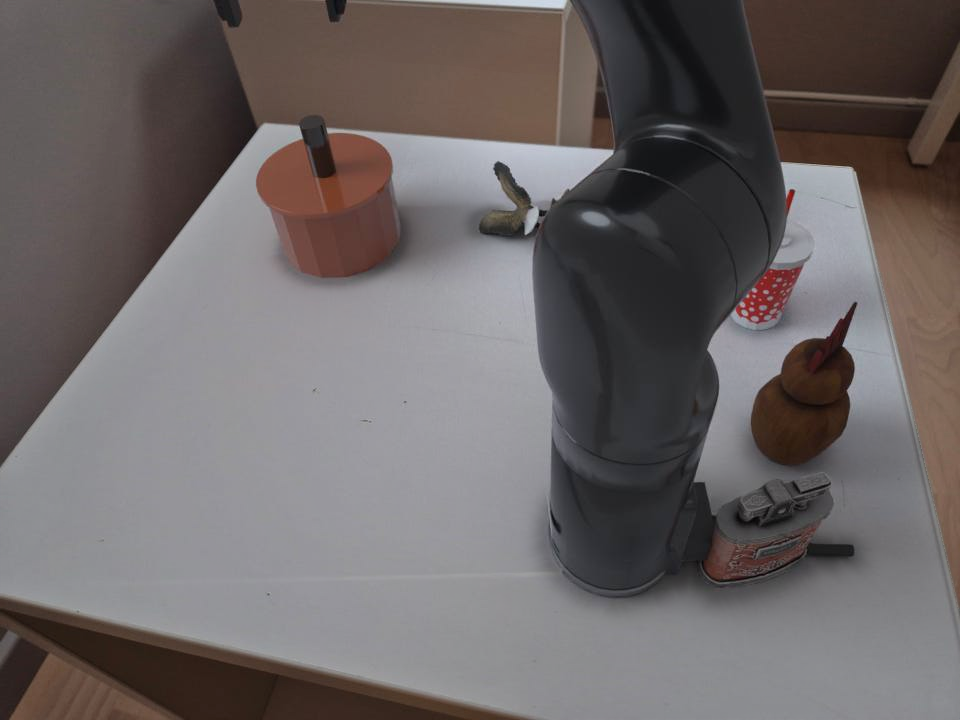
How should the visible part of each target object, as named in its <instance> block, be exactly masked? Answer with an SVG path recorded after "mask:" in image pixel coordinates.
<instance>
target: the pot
mask: <svg viewBox="0 0 960 720" xmlns="http://www.w3.org/2000/svg"><path fill="white" fill-rule="evenodd" d="M268 208H269V207H268ZM269 212H270V215H271V217H272V218H271V219H272V221H273V224H274V227H275V229H276V232H277V235H278V238H279V241H280V244H281V248H282V250H283V252H284V256H285V258H286V261H287V263H289V264H290V265H291V266H292V267H294V268H295V269H297V270H298V271H299V272H300V273H302V274H306V275H309V276H313V277H317V278H322V279H323V278H324V279H327V278H346V277H347V278H348V277H351V276H353V275H354V276H355V275H357V274H360V273H363V272H367V271H370V270H371V269H373V268H374V267H376V266H378V265H379V264H381V263H382V262H384V261H385V260H387V259H388V258H389V257H390V256H391V254H392V253H393V251H394V250H395V249H396V247H397V246H398V245H399V243H400V239H401V230H402V226H401V221H400V216H399V210H398V204H397V198H396V192H395V187H394V183H393V177H392V178H391V180H390V182H389V184H388V186H387V187H386V189H385V190H384V191H383V192H382V193H381V194H380V195H379V196H378V197H376V198H375V199H374V200H372V201H371V202H369V203H368V204H366V205H364V206H362V207H361V208H358V209H356V210H354V211H351V212H348V213H345V214H342V215H338V216H334V217H328V218H320V219H302V218H294V217H289V216H285V215H282V214H280V213H277V212H275V211H273V210H272V209H270V208H269Z"/></svg>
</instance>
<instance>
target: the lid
mask: <svg viewBox="0 0 960 720" xmlns="http://www.w3.org/2000/svg"><path fill="white" fill-rule="evenodd" d="M298 126H299V130H300V134H301V139H298V140H295V141H293V142H290V143H288V144H287V145H284V146H282V147H281V148H280V149H277V150H276V151H275V152H274V153H272V154H271V155H270V156H269V157H268V158H266V160H265V161H264V162H263V163H262V164H261V166H260V167H259V170H258V172H257V173H256V178H255V187H256V191H257V195H258V196H259V199H260V201H262V203H263V204H264V205H265V206H266V207H267V208H270V209H272V210H273V211H275V212H277V213H280V214H282V215H285V216H289V217H294V218H302V219H320V218H328V217H334V216H338V215H342V214H345V213H348V212H351V211H354V210H356V209H358V208H361V207H362V206H364V205H366V204H368V203H369V202H371V201H372V200H374V199H375V198H376V197H378V196H379V195H380V194H381V193H382V192H383V191H384V190H385V189H386V187H387V186H388V184H389V182H390V180H391V178H392V179H393V174H394V165H393V164H394V163H393V159H392V156H391V154H390V152H389V150H387V148H386V147H385V146H384V145H383V144H382V143H379V141H377V140H374V139H373V138H370V137H368V136H365V135H361V134H357V133H348V132H347V133H346V132H328V129H327V125H326V120H325V118H324V117H323V116H321V115H319V114H311V115H307V116H304V117H303V118H301V119H300V120H299V122H298ZM270 209H269V210H270Z"/></svg>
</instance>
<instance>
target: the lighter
mask: <svg viewBox="0 0 960 720" xmlns="http://www.w3.org/2000/svg"><path fill="white" fill-rule="evenodd" d="M832 486H833V481H832V479H831V477H830V476H829V475H828V474H827V473H826V472H824V471H818V472H815V473H811V474H808V475H804V476H801V477H797V478H794V479H792V480H788V481H785V482H784V481H783V480H781V479H780V478H779V479H778V478H776V479H775V478H774V479H773V480H769V481H767V482H765V483H764V484H763V485H762V486H760V487H759V488H758V489H755V490H753V491H750V492H747V493H744V494H742V495H740V496H738V497H736V498H734V499H732V500H731V501H729V502H727V503H725V504H724V505H721V506H720V508H718V510H717V512H716V515H715V516H716V518H715V529H714V532H713V535H712V543H713V544H712V547H711V550H710V552H709V555H708V558H707V560H699V562H698V566H697V567H698V573H699V576H700V578H701V579H702V580H703V582H704V583H705V584H707V585H708V586H709V587H711V588H713V589H719V590H721V589H722V590H723V589H731V588H740V587H744V586H745V587H746V586H749V585H753V584H758V583H761V582H765V581H768V580H769V579H771V578H774V577H776V576H779V575H781V574H783V573H785V572H787V571H789V570H791V569H793V568H795V566H797V565H799V564H800V563H801V562H803V560H804V558H805V556H806V551H807V549H806V547H807V545H808V544H809V543H811V540H812V539H813V537H814V535H815V534H816V532H817V530H818V528H819V527H820V525H821V523H822V521H823V520H825V519H827V518H828V516H830V515H831V512H832V511H833V509H834V506H835V501H834V497H833V495H832V494H831V492H830V489H831V487H832ZM805 549H806V550H805Z"/></svg>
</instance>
